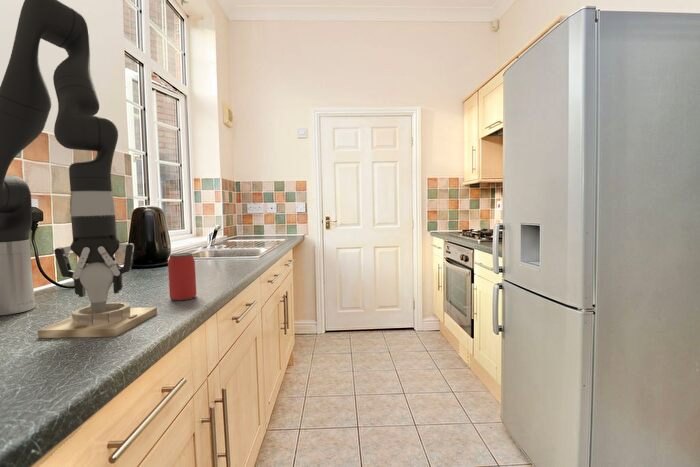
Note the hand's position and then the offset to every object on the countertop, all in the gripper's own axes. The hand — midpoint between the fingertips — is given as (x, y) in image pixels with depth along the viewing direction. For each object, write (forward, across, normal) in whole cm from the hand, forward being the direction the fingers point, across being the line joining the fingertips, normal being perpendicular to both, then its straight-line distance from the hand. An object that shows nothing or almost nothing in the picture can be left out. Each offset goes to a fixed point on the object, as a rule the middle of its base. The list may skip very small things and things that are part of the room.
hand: (99, 294), depth 78 cm
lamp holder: (+7, 0, 0) cm, 7 cm away
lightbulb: (+4, 0, 0) cm, 4 cm away
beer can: (+7, -15, -18) cm, 24 cm away
